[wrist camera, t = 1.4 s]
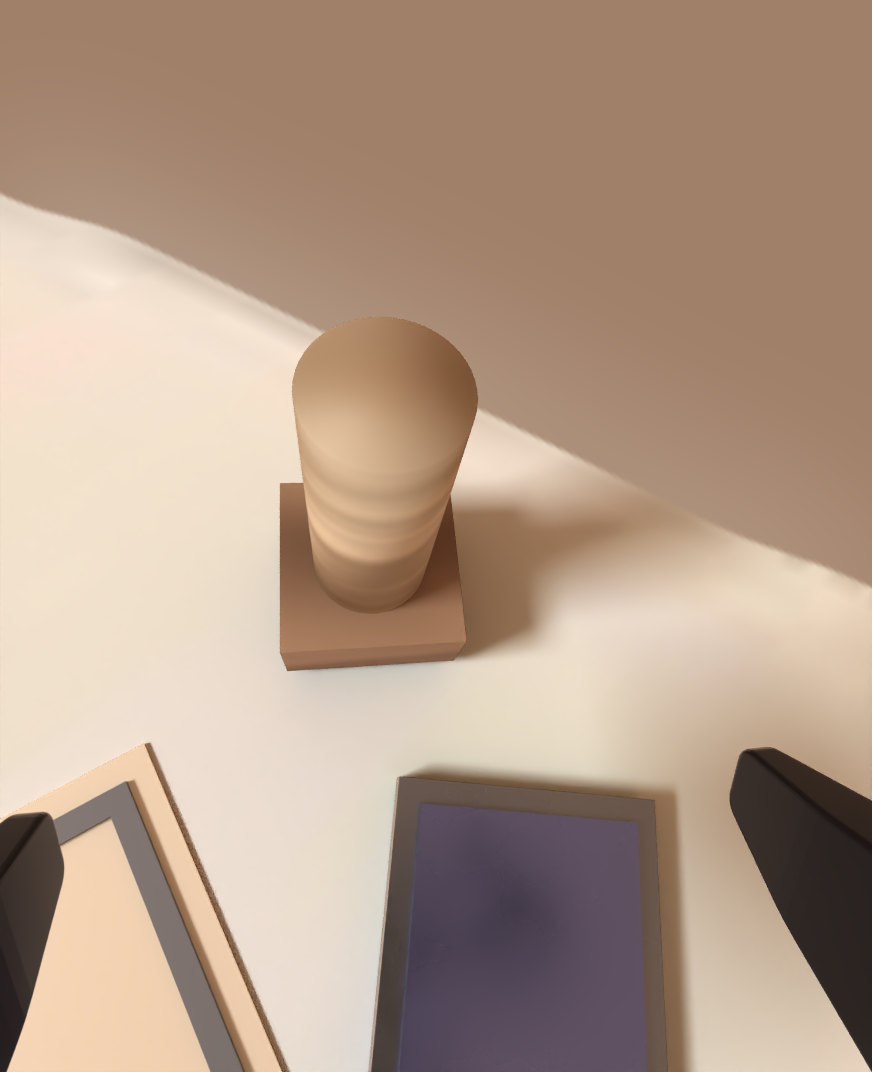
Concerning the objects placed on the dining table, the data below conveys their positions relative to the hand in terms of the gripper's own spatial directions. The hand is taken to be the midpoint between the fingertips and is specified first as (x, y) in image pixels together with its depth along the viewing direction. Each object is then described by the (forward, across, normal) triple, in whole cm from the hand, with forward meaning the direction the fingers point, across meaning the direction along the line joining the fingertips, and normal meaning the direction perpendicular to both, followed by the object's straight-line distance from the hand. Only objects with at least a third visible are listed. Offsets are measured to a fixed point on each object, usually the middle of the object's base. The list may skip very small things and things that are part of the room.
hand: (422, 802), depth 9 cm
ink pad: (+6, -4, +12) cm, 14 cm away
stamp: (+14, 0, +4) cm, 15 cm away
